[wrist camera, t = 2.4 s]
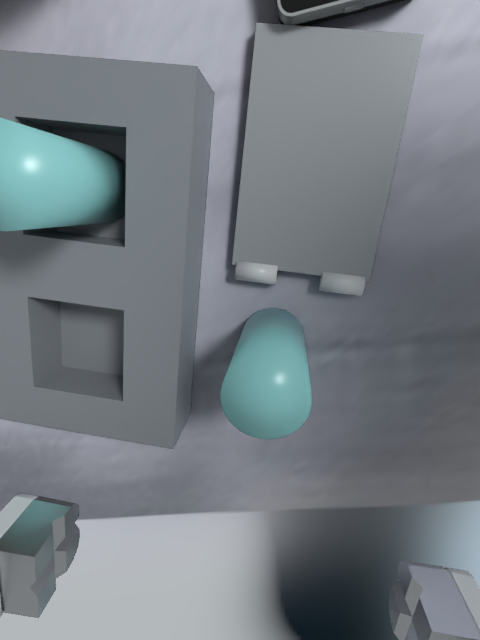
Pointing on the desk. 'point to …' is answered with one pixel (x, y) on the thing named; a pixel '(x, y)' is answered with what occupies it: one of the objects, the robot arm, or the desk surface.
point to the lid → (320, 151)
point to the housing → (108, 253)
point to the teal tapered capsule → (268, 377)
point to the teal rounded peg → (56, 181)
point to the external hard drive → (322, 9)
